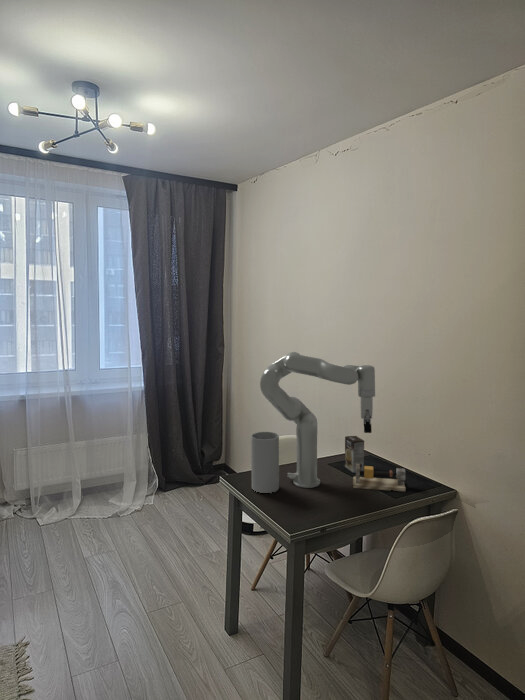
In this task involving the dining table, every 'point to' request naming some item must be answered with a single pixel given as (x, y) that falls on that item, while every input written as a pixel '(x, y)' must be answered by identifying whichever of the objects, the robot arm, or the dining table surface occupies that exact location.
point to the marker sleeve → (368, 472)
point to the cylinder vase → (265, 462)
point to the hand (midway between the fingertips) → (367, 429)
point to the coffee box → (354, 453)
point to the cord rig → (380, 480)
